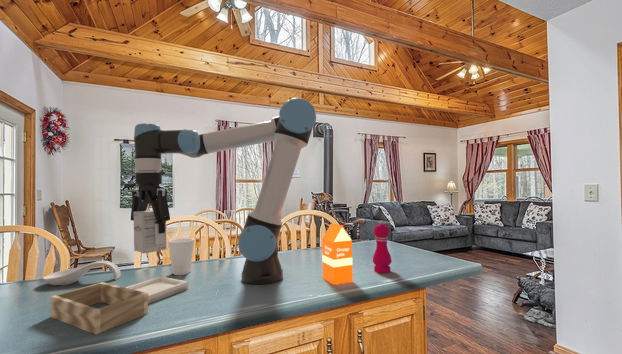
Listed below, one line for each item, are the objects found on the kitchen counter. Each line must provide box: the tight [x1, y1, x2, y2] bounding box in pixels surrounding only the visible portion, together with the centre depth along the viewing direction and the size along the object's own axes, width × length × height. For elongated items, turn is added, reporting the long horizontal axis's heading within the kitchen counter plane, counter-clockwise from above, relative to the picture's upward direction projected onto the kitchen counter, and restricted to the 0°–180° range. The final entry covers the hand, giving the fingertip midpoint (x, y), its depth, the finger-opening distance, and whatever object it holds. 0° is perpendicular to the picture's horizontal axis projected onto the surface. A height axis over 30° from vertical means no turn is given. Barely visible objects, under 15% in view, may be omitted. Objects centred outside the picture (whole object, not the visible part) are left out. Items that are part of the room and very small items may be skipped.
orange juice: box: [321, 222, 354, 286], centre depth 109 cm, size 8×9×20 cm
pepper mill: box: [372, 220, 393, 274], centre depth 118 cm, size 7×7×20 cm
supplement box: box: [133, 209, 168, 254], centre depth 96 cm, size 7×7×13 cm
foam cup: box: [168, 237, 195, 276], centre depth 120 cm, size 10×9×13 cm
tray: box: [125, 275, 189, 305], centre depth 98 cm, size 14×14×2 cm
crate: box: [49, 281, 149, 335], centre depth 82 cm, size 22×13×6 cm, turn 62°
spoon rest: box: [42, 259, 122, 286], centre depth 112 cm, size 24×12×7 cm, turn 106°
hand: (150, 243), depth 96 cm, fingers closed on supplement box, 8 cm apart
